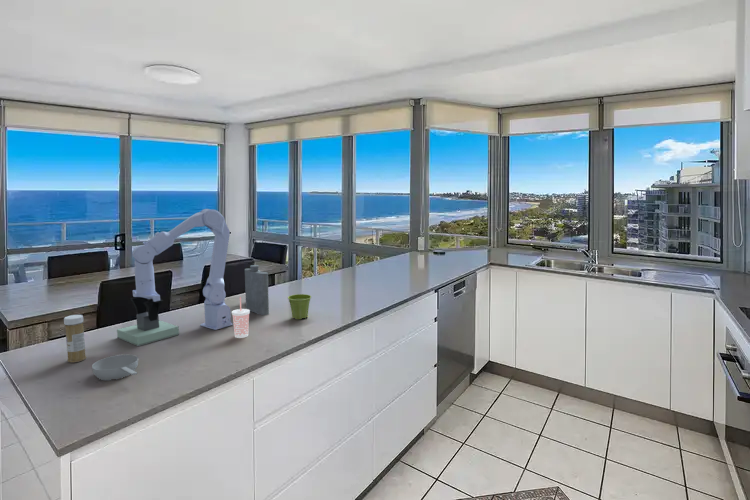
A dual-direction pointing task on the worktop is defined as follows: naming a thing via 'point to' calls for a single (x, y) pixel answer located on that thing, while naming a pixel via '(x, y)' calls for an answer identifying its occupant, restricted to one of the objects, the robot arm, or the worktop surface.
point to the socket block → (147, 333)
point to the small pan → (115, 367)
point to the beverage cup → (241, 322)
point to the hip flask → (256, 290)
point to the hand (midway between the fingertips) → (147, 318)
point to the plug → (146, 322)
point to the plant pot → (299, 305)
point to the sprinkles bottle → (75, 338)
